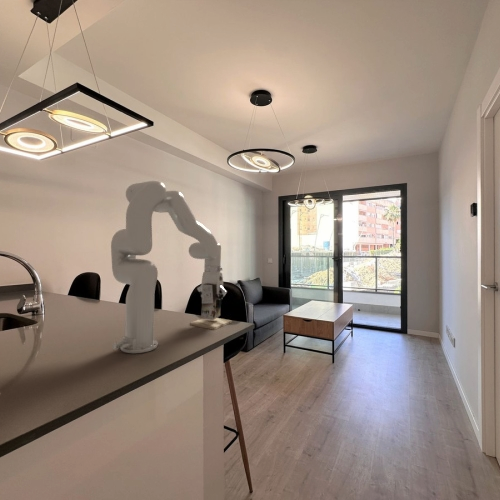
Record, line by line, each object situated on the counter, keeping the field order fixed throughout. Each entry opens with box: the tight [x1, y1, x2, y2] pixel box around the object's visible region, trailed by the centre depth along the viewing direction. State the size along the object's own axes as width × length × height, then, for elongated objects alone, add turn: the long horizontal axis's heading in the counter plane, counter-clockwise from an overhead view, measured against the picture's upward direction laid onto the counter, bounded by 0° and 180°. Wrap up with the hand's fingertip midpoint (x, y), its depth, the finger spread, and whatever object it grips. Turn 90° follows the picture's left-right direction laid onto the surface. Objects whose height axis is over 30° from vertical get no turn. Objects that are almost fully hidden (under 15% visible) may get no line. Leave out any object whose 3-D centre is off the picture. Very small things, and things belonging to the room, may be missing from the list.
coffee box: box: [200, 284, 221, 320], centre depth 136 cm, size 9×6×16 cm
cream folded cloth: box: [189, 317, 233, 330], centre depth 136 cm, size 14×14×1 cm
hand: (211, 306), depth 136 cm, fingers closed on coffee box, 7 cm apart
